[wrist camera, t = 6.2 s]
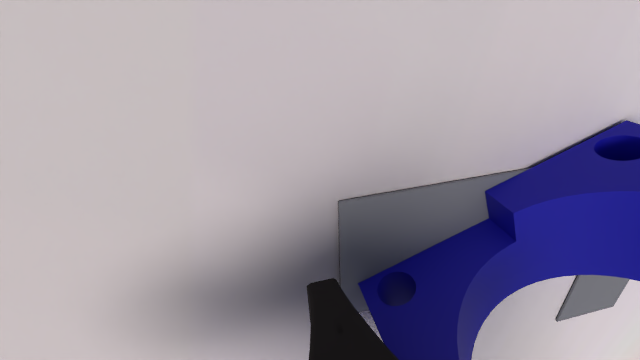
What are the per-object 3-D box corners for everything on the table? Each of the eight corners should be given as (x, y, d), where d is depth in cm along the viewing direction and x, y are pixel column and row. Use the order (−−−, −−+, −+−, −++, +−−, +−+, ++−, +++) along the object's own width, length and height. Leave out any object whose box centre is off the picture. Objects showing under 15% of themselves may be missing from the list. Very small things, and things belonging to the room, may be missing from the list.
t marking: (611, 305, 20) (613, 306, 20) (342, 377, 17) (343, 379, 17) (790, 7, 12) (794, 6, 12) (334, 46, 9) (335, 47, 9)
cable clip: (626, 120, 12) (901, 207, 7) (615, 204, 15) (816, 313, 10) (345, 260, 13) (421, 441, 7) (379, 321, 15) (454, 489, 10)
